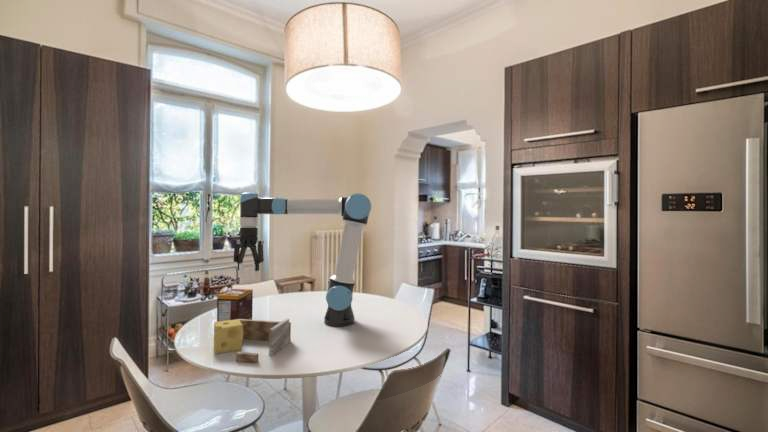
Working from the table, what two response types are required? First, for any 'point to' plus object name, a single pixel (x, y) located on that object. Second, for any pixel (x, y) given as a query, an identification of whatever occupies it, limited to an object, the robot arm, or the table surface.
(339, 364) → the table surface
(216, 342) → the cheese
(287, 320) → the shelf
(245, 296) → the supplement box
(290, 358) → the table surface
